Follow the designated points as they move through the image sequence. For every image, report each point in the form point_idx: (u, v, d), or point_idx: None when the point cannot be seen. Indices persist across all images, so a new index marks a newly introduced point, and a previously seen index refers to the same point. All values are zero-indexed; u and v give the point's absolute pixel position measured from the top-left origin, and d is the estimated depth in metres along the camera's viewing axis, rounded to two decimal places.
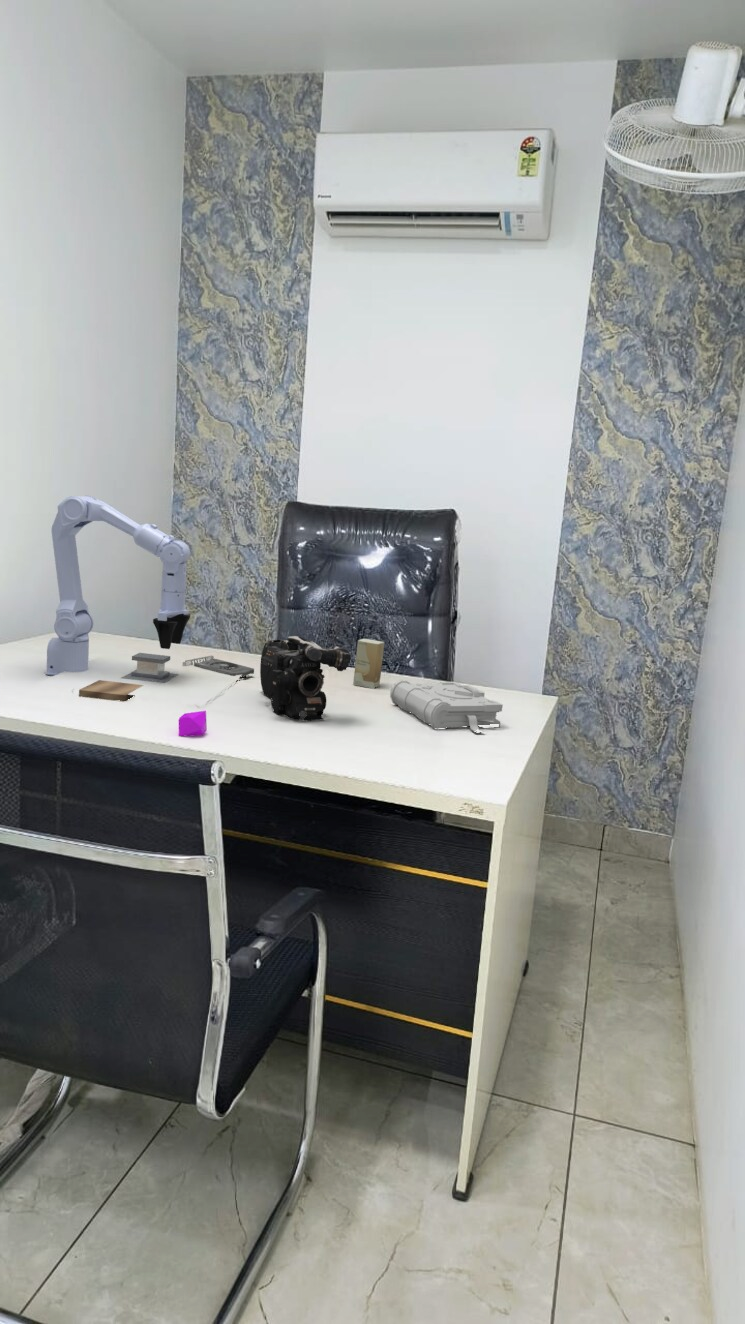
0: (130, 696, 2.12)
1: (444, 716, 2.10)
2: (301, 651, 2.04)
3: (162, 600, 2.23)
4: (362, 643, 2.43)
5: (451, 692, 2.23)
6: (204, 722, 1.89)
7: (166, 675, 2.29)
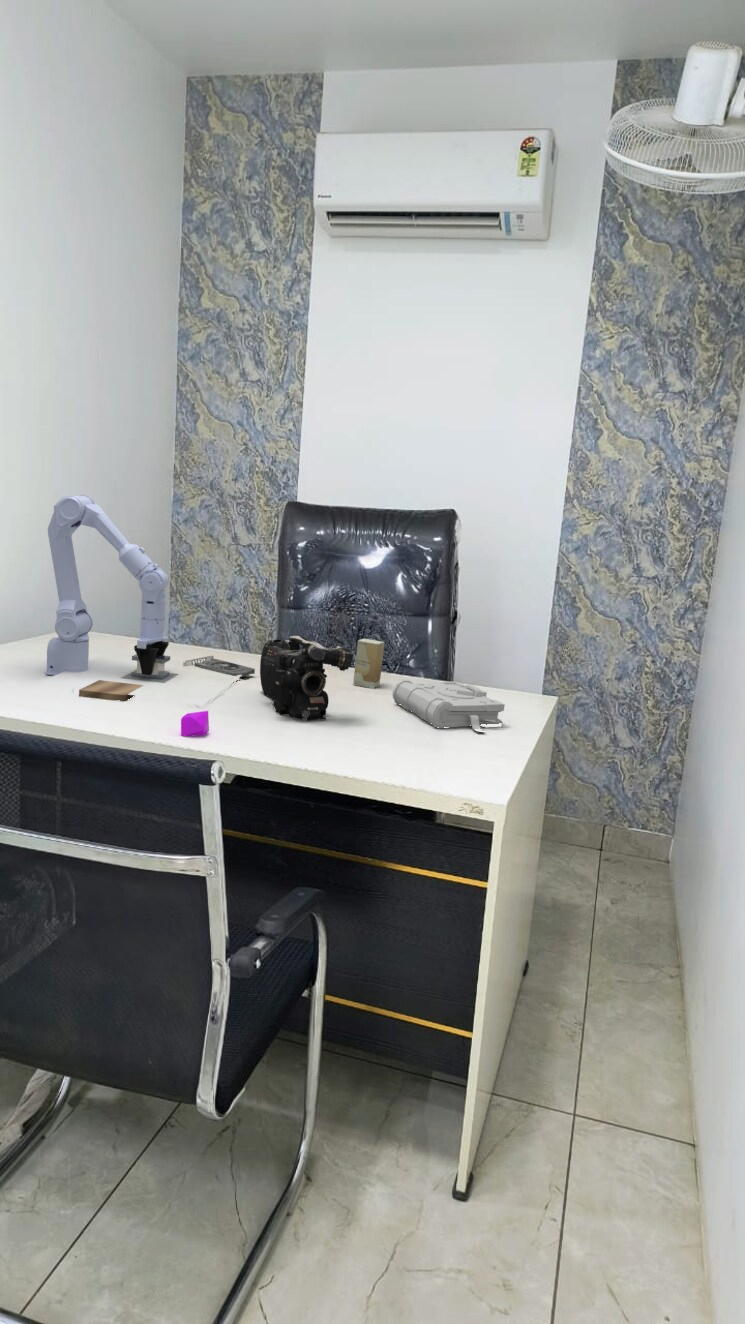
0: (130, 696, 2.12)
1: (446, 716, 2.10)
2: (304, 651, 2.05)
3: (141, 628, 2.25)
4: (362, 642, 2.43)
5: (453, 692, 2.24)
6: (206, 722, 1.89)
7: (166, 675, 2.29)
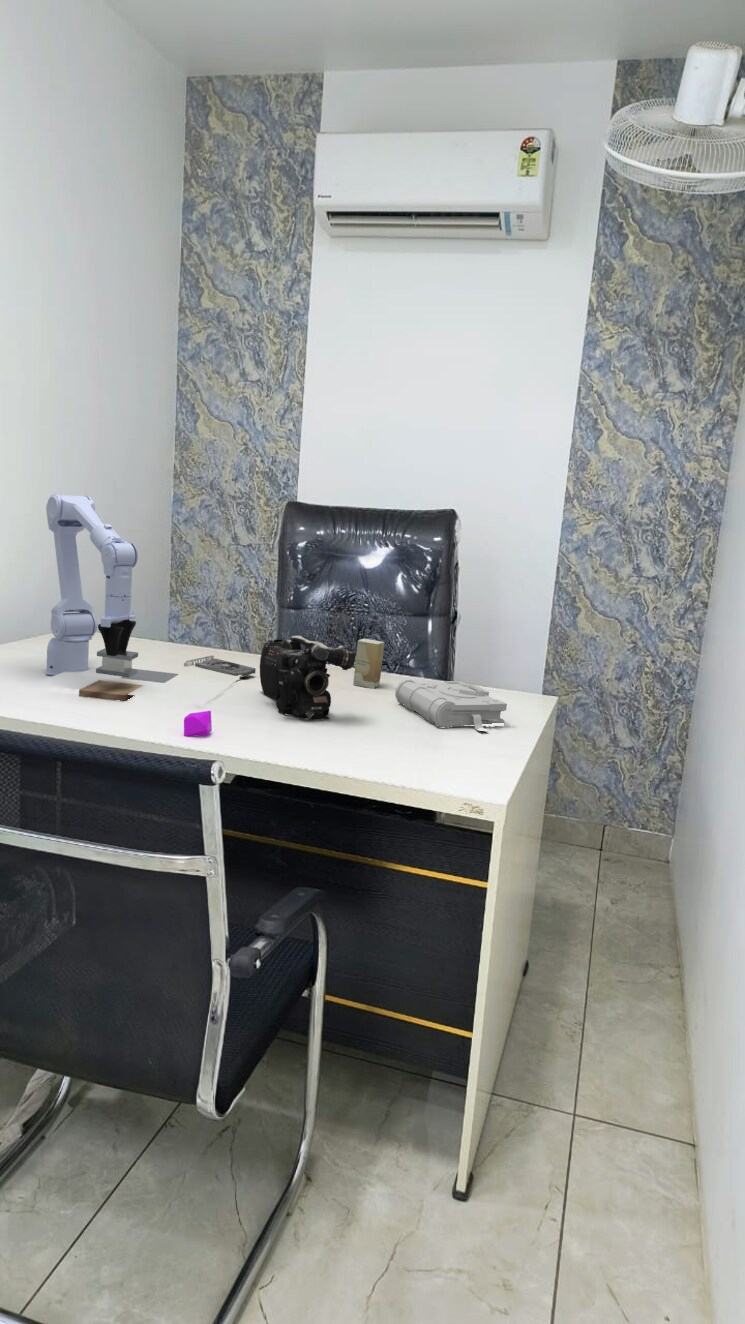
0: (130, 696, 2.12)
1: (449, 715, 2.11)
2: (307, 651, 2.05)
3: (106, 605, 2.11)
4: (362, 643, 2.43)
5: (456, 691, 2.24)
6: (209, 722, 1.89)
7: (133, 673, 2.15)
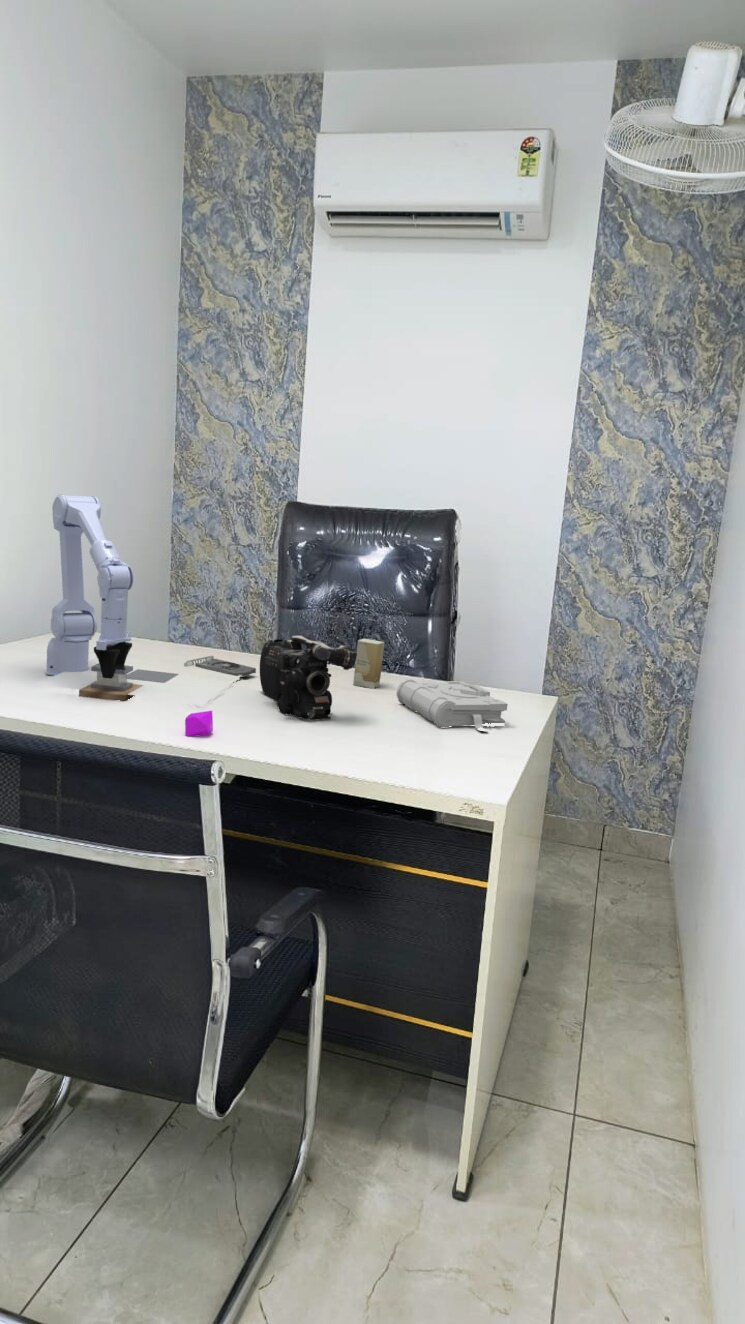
0: (130, 696, 2.12)
1: (449, 715, 2.11)
2: (309, 651, 2.05)
3: (102, 628, 2.10)
4: (362, 643, 2.43)
5: (457, 691, 2.25)
6: (210, 722, 1.89)
7: (128, 687, 2.15)
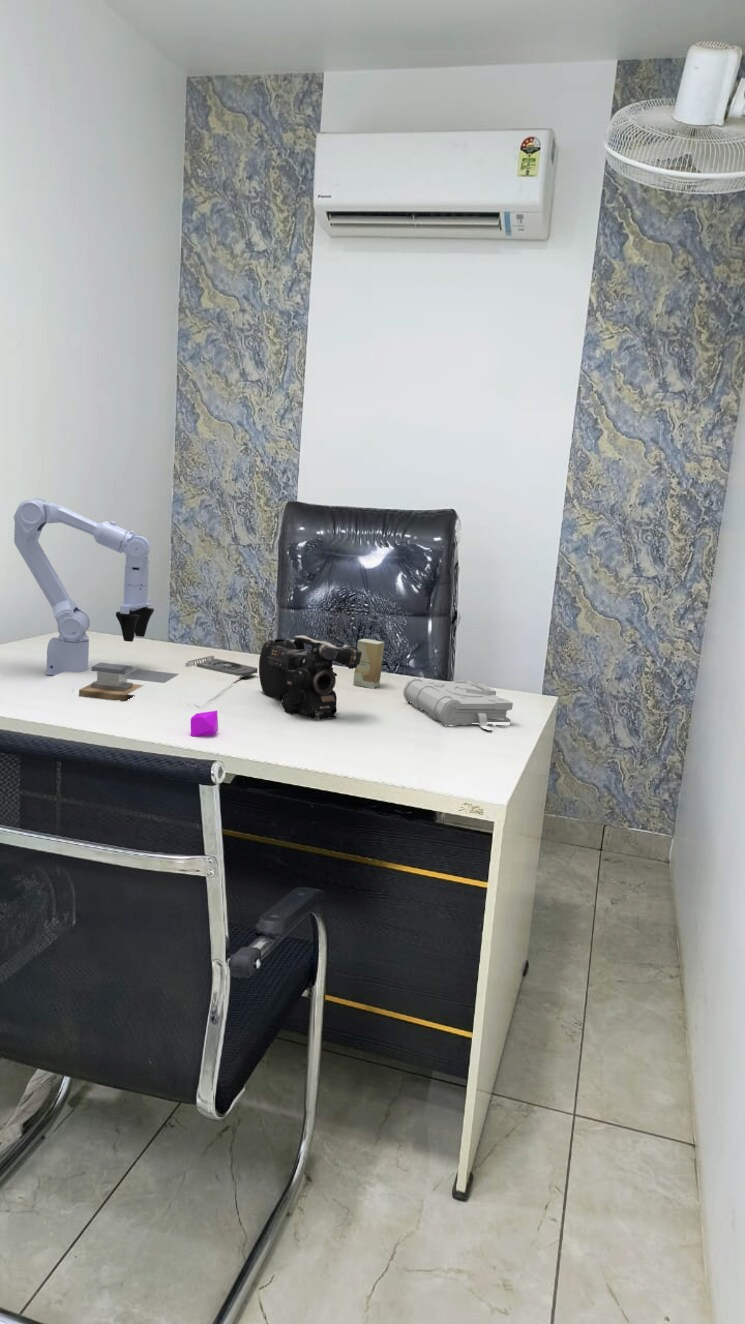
0: (130, 696, 2.12)
1: (454, 714, 2.13)
2: (315, 650, 2.07)
3: (125, 594, 2.27)
4: (362, 643, 2.43)
5: (463, 690, 2.26)
6: (216, 722, 1.90)
7: (128, 687, 2.15)
